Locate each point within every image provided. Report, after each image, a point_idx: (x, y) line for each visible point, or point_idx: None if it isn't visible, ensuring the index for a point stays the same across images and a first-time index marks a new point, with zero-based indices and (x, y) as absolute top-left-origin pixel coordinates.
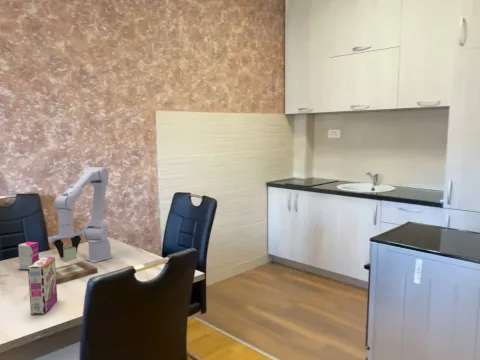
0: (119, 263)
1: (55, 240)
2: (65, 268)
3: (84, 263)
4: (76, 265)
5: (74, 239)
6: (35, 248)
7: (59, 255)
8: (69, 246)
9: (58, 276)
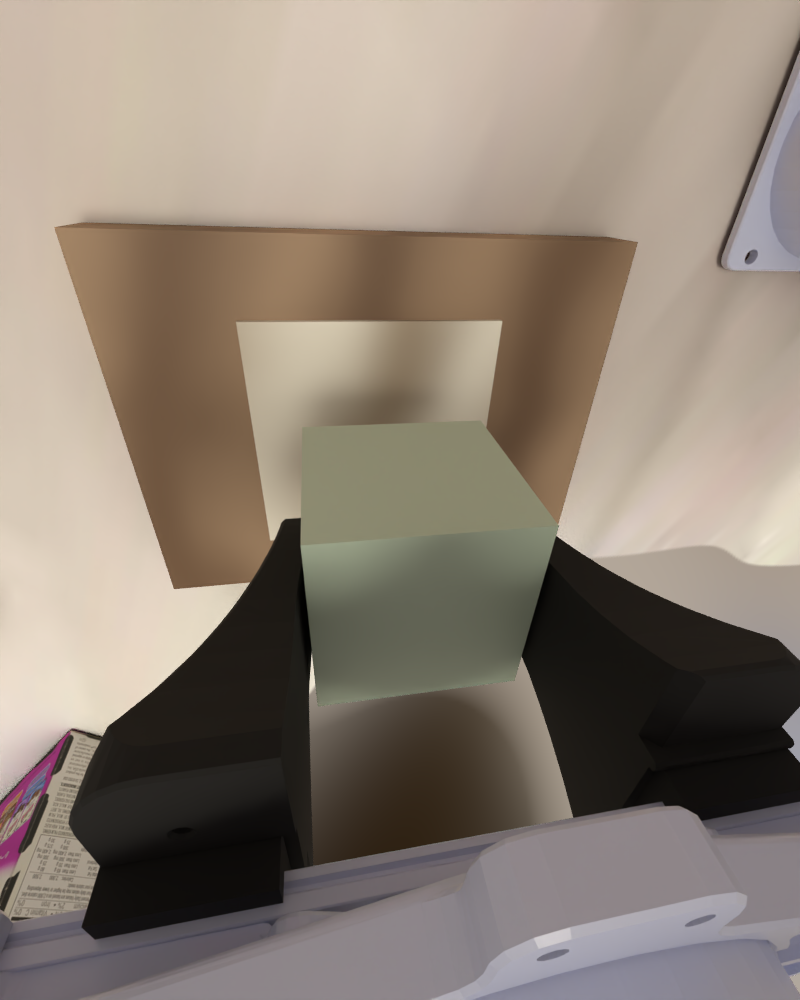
0: (761, 464)
1: (131, 951)
2: (363, 373)
3: (588, 356)
4: (493, 369)
5: (600, 791)
6: None
7: (278, 533)
8: (500, 574)
9: (224, 534)
